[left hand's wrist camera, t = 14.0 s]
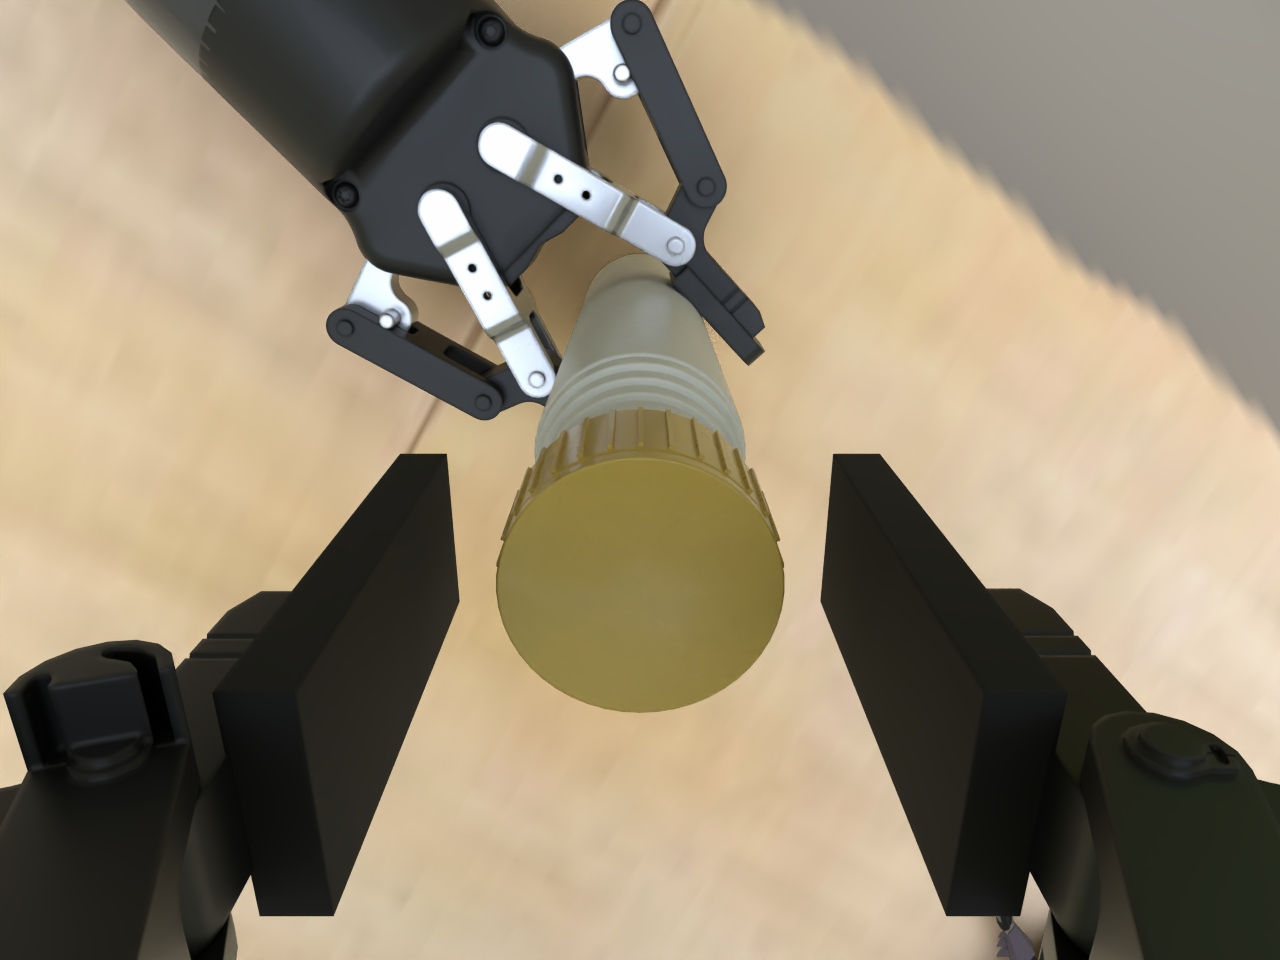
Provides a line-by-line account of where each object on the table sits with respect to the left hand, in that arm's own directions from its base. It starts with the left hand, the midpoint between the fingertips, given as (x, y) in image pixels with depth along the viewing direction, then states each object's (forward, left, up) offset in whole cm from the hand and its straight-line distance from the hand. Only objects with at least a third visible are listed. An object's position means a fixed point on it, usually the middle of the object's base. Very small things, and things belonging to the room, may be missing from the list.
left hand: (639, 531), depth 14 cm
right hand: (-2, -1, -15) cm, 15 cm away
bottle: (0, 0, -21) cm, 21 cm away
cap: (0, 0, +2) cm, 2 cm away
